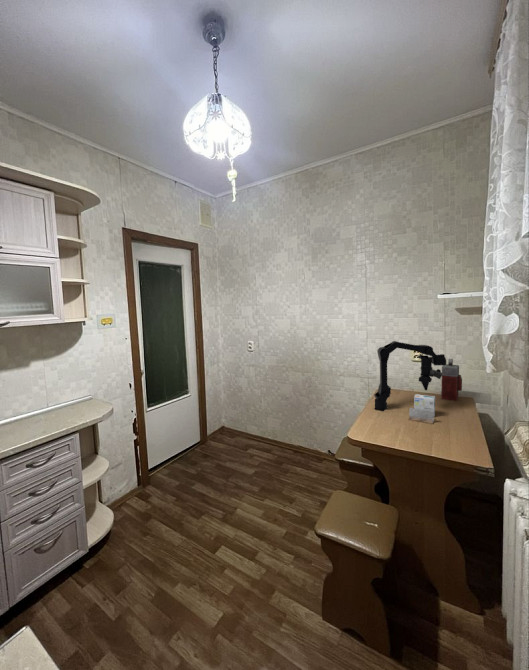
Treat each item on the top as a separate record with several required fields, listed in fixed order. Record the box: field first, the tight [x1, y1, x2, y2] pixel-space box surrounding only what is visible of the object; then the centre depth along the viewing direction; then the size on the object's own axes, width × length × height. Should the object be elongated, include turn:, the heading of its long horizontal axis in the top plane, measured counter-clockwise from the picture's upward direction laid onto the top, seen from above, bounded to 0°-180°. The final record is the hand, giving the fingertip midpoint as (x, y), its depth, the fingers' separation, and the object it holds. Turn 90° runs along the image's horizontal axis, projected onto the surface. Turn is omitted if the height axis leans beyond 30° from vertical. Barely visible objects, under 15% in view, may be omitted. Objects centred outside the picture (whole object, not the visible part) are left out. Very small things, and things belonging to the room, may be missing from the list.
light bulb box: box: [413, 393, 436, 417], centre depth 168 cm, size 11×7×11 cm, turn 56°
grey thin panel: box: [408, 407, 435, 423], centre depth 159 cm, size 12×1×6 cm, turn 55°
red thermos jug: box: [440, 358, 463, 402], centre depth 192 cm, size 9×11×28 cm
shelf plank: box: [408, 418, 435, 425], centre depth 157 cm, size 12×3×1 cm, turn 55°
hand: (426, 390), depth 175 cm, fingers closed
